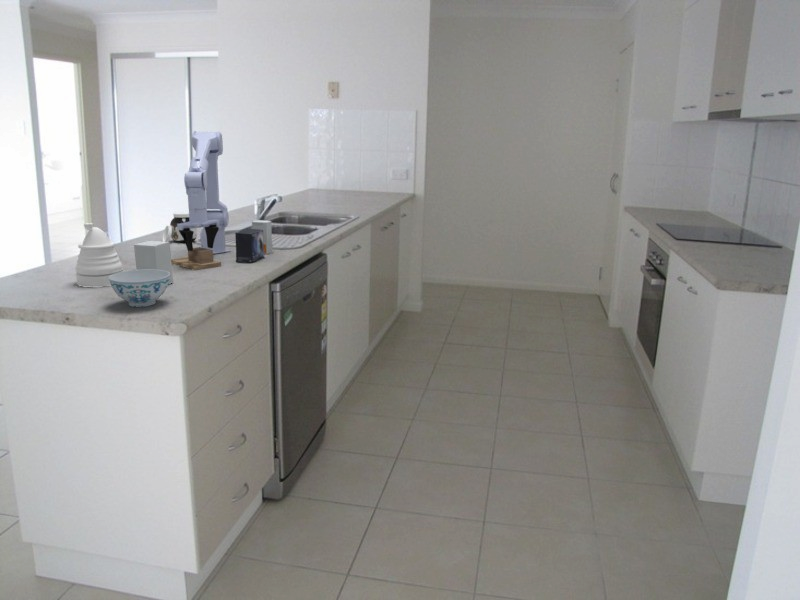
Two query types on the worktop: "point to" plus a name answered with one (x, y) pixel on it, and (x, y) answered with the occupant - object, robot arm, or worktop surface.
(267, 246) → the skincare box
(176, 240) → the spread jar
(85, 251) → the honey pot
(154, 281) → the chinaware
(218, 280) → the worktop surface
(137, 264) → the supplement box
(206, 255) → the block
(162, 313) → the worktop surface
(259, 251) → the small box
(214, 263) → the board
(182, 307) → the worktop surface
